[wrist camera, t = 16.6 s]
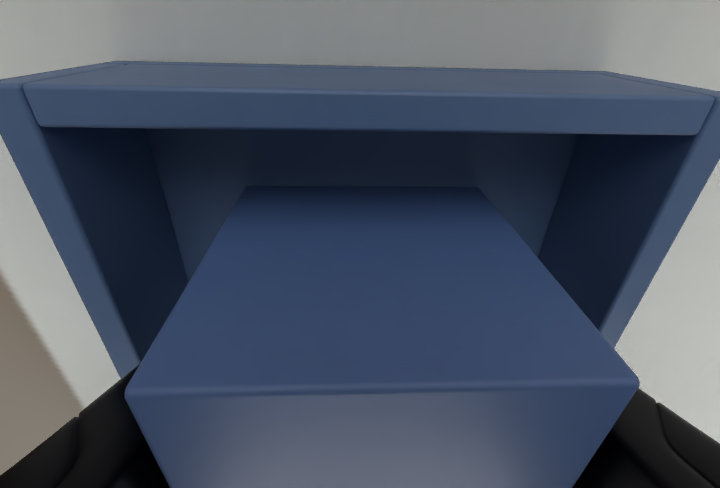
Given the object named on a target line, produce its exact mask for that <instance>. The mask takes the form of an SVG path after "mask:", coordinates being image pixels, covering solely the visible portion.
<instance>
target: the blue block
mask: <svg viewBox="0 0 720 488" xmlns="http://www.w3.org/2000/svg"><path fill="white" fill-rule="evenodd" d="M639 384H640V382H639V379H638V377H637V376H636V375H635V374H634V372H633V371H632V370H631V369H630V368H629V366H628V365H627V364H626V363H625V362H624V360H623V359H622V358H621V357H620V356H619V354H618V353H617V352H616V351H615V350H614V348H613V347H612V346H611V345H610V344H609V342H608V341H607V340H606V339H605V338H604V336H603V335H602V334H601V333H600V332H599V330H598V329H597V328H596V327H595V326H594V324H593V323H592V322H591V321H590V320H589V319H588V317H587V316H586V315H585V314H584V313H583V311H582V310H581V309H580V308H579V307H578V305H577V304H576V303H575V302H574V301H573V299H572V298H571V297H570V296H569V295H568V293H567V292H566V291H565V290H564V289H563V287H562V286H561V285H560V284H559V283H558V281H557V280H556V279H555V278H554V277H553V275H552V274H551V273H550V272H549V271H548V269H547V268H546V267H545V266H544V265H543V263H542V262H541V261H540V260H539V259H538V258H537V256H536V255H535V254H534V253H533V252H532V250H531V249H530V248H529V247H528V246H527V244H526V243H525V242H524V241H523V240H522V238H521V237H520V236H519V235H518V234H517V232H516V231H515V230H514V229H513V228H512V226H511V225H510V224H509V223H508V222H507V220H506V219H505V218H504V217H503V216H502V214H501V213H500V212H499V211H498V210H497V208H496V207H495V206H494V205H493V204H492V202H491V201H490V200H489V199H488V198H487V196H486V195H485V194H484V193H483V192H482V191H481V189H480V188H478V187H341V186H247V187H245V189H244V190H243V192H242V194H241V195H240V197H239V199H238V200H237V202H236V204H235V205H234V207H233V209H232V210H231V212H230V214H229V215H228V217H227V219H226V220H225V222H224V224H223V225H222V227H221V229H220V231H219V232H218V234H217V236H216V237H215V239H214V241H213V242H212V244H211V246H210V247H209V249H208V251H207V252H206V254H205V256H204V257H203V259H202V261H201V262H200V264H199V266H198V267H197V269H196V271H195V273H194V274H193V276H192V278H191V279H190V281H189V283H188V284H187V286H186V288H185V289H184V291H183V293H182V294H181V296H180V298H179V299H178V301H177V303H176V304H175V306H174V308H173V310H172V311H171V313H170V315H169V316H168V318H167V320H166V321H165V323H164V325H163V326H162V328H161V330H160V331H159V333H158V335H157V336H156V338H155V340H154V341H153V343H152V345H151V346H150V348H149V350H148V352H147V353H146V355H145V357H144V358H143V360H142V362H141V363H140V365H139V367H138V368H137V370H136V372H135V373H134V375H133V377H132V378H131V380H130V382H129V383H128V385H127V387H126V390H125V400H126V401H127V403H128V405H129V407H130V409H131V411H132V413H133V415H134V417H135V419H136V421H137V423H138V425H139V427H140V429H141V431H142V433H143V435H144V437H145V439H146V441H147V443H148V445H149V447H150V449H151V451H152V453H153V455H154V457H155V459H156V461H157V463H158V465H159V467H160V469H161V471H162V473H163V475H164V477H165V479H166V481H167V483H168V485H169V487H170V488H572V487H573V486H574V484H575V483H576V481H577V480H578V478H579V477H580V475H581V474H582V472H583V471H584V469H585V468H586V466H587V465H588V463H589V462H590V460H591V459H592V457H593V456H594V454H595V453H596V451H597V450H598V448H599V446H600V445H601V443H602V442H603V440H604V439H605V437H606V436H607V434H608V433H609V431H610V430H611V428H612V427H613V425H614V424H615V422H616V421H617V419H618V418H619V416H620V415H621V413H622V412H623V410H624V409H625V407H626V406H627V404H628V403H629V401H630V400H631V398H632V397H633V395H634V394H635V392H636V391H637V389H638V388H639Z"/></svg>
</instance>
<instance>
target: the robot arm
mask: <svg viewBox="0 0 720 488" xmlns="http://www.w3.org/2000/svg"><path fill="white" fill-rule="evenodd" d="M139 365H140V364H139ZM139 365H138V366H137V367H135V368H134V369H133V370H132V371H130V372H129V373H128V374H127V375H125V376H124V377H123V378H122V379H121V380H119V381H118V382H117V383H116V384H114V385H113V386H112V387H111V388H110V389H108V390H107V391H106V392H105V393H103V394H102V395H101V396H100V397H99V398H97V399H96V400H95V401H94V402H92V403H91V404H90V405H89V406H88V407H86V408H85V409H84V410H83V411H81V412H80V414H79V417H74V418H73V419H71V420H70V421H69V422H68V423H66V424H65V425H64V426H63V427H62V428H60V429H59V430H58V431H57V432H55V433H54V434H53V435H52V436H51V437H49V438H48V439H47V440H45V441H44V442H43V443H42V444H40V445H39V446H38V447H37V448H35V449H34V450H33V451H32V452H30V453H29V454H28V455H27V456H25V457H24V458H23V459H21V460H20V461H19V462H18V463H16V464H15V465H14V466H13V467H11V468H10V469H9V470H7V471H6V472H5V473H3V474H2V475H0V488H170V487H169V485H168V483H167V481H166V479H165V477H164V475H163V473H162V471H161V469H160V467H159V465H158V463H157V461H156V459H155V457H154V455H153V453H152V451H151V449H150V447H149V445H148V443H147V441H146V439H145V437H144V435H143V433H142V431H141V429H140V427H139V425H138V423H137V421H136V419H135V417H134V415H133V413H132V411H131V409H130V407H129V405H128V403H127V401H126V400H125V390H126V387H127V385H128V383H129V382H130V380H131V378H132V377H133V375H134V373H135V372H136V370H137V368H138V367H139ZM572 488H720V443H718V442H717V441H715V440H714V439H712V438H711V437H709V436H708V435H706V434H705V433H703V432H702V431H700V430H699V429H697V428H696V427H694V426H693V425H691V424H690V423H688V422H687V421H685V420H684V419H682V418H681V417H680V416H678V415H677V414H675V413H674V412H672V411H671V410H669V409H668V408H667V407H665V406H664V405H662V404H661V403H656V401H655V400H654V399H653V398H652V397H650V396H649V395H648V394H646V393H645V392H643V391H642V390H640V389H639V388H638V389H637V391H636V392H635V394H634V395H633V397H632V398H631V400H630V401H629V403H628V404H627V406H626V407H625V409H624V410H623V412H622V413H621V415H620V416H619V418H618V419H617V421H616V422H615V424H614V425H613V427H612V428H611V430H610V431H609V433H608V434H607V436H606V437H605V439H604V440H603V442H602V443H601V445H600V446H599V448H598V450H597V451H596V453H595V454H594V456H593V457H592V459H591V460H590V462H589V463H588V465H587V466H586V468H585V469H584V471H583V472H582V474H581V475H580V477H579V478H578V480H577V481H576V483H575V484H574V486H573V487H572Z"/></svg>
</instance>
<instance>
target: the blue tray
mask: <svg viewBox="0 0 720 488" xmlns="http://www.w3.org/2000/svg"><path fill="white" fill-rule="evenodd" d="M0 134H1V136H2V138H3V140H4V142H5V144H6V146H7V148H8V150H9V152H10V154H11V156H12V158H13V160H14V162H15V165H16V167H17V169H18V171H19V173H20V175H21V177H22V179H23V181H24V183H25V185H26V187H27V189H28V191H29V193H30V195H31V197H32V199H33V201H34V203H35V205H36V207H37V209H38V211H39V213H40V215H41V217H42V219H43V221H44V223H45V225H46V227H47V230H48V232H49V234H50V236H51V238H52V240H53V242H54V244H55V246H56V248H57V250H58V252H59V254H60V256H61V258H62V260H63V262H64V264H65V266H66V268H67V270H68V272H69V274H70V276H71V278H72V280H73V282H74V284H75V286H76V288H77V290H78V292H79V295H80V297H81V299H82V301H83V303H84V305H85V307H86V309H87V311H88V313H89V315H90V317H91V319H92V321H93V323H94V325H95V327H96V329H97V331H98V333H99V335H100V337H101V339H102V341H103V343H104V345H105V347H106V349H107V351H108V353H109V355H110V357H111V360H112V362H113V364H114V366H115V368H116V370H117V372H118V374H119V376H120V378H121V379H122V378H123V377H124V376H125V375H127V374H128V373H129V372H130V371H132V370H133V369H134V368H135V367H137V366H138V365H139V364H140V363H141V362H142V360H143V358H144V357H145V355H146V353H147V352H148V350H149V348H150V346H151V345H152V343H153V341H154V340H155V338H156V336H157V335H158V333H159V331H160V330H161V328H162V326H163V325H164V323H165V321H166V320H167V318H168V316H169V315H170V313H171V311H172V310H173V308H174V306H175V304H176V303H177V301H178V299H179V298H180V296H181V294H182V293H183V291H184V289H185V288H186V286H187V284H188V283H189V281H190V279H191V278H192V276H193V274H194V273H195V271H196V269H197V267H198V266H199V264H200V262H201V261H202V259H203V257H204V256H205V254H206V252H207V251H208V249H209V247H210V246H211V244H212V242H213V241H214V239H215V237H216V236H217V234H218V232H219V231H220V229H221V227H222V225H223V224H224V222H225V220H226V219H227V217H228V215H229V214H230V212H231V210H232V209H233V207H234V205H235V204H236V202H237V200H238V199H239V197H240V195H241V194H242V192H243V190H244V189H245V187H247V186H341V187H478V188H480V189H481V191H482V192H483V193H484V194H485V195H486V196H487V198H488V199H489V200H490V201H491V202H492V204H493V205H494V206H495V207H496V208H497V210H498V211H499V212H500V213H501V214H502V216H503V217H504V218H505V219H506V220H507V222H508V223H509V224H510V225H511V226H512V228H513V229H514V230H515V231H516V232H517V234H518V235H519V236H520V237H521V238H522V240H523V241H524V242H525V243H526V244H527V246H528V247H529V248H530V249H531V250H532V252H533V253H534V254H535V255H536V256H537V258H538V259H539V260H540V261H541V262H542V263H543V265H544V266H545V267H546V268H547V269H548V271H549V272H550V273H551V274H552V275H553V277H554V278H555V279H556V280H557V281H558V283H559V284H560V285H561V286H562V287H563V289H564V290H565V291H566V292H567V293H568V295H569V296H570V297H571V298H572V299H573V301H574V302H575V303H576V304H577V305H578V307H579V308H580V309H581V310H582V311H583V313H584V314H585V315H586V316H587V317H588V319H589V320H590V321H591V322H592V323H593V324H594V326H595V327H596V328H597V329H598V330H599V332H600V333H601V334H602V335H603V336H604V338H605V339H606V340H607V341H608V342H609V344H610V345H611V346H612V347H613V348H614V347H615V345H616V344H617V342H618V340H619V338H620V336H621V335H622V333H623V331H624V329H625V327H626V326H627V324H628V322H629V320H630V318H631V317H632V315H633V313H634V311H635V310H636V308H637V306H638V304H639V302H640V301H641V299H642V297H643V295H644V293H645V292H646V290H647V288H648V286H649V284H650V283H651V281H652V279H653V277H654V275H655V274H656V272H657V270H658V268H659V266H660V265H661V263H662V261H663V259H664V258H665V256H666V254H667V252H668V250H669V249H670V247H671V245H672V243H673V241H674V240H675V238H676V236H677V234H678V232H679V231H680V229H681V227H682V225H683V223H684V222H685V220H686V218H687V216H688V214H689V213H690V211H691V209H692V207H693V206H694V204H695V202H696V200H697V198H698V197H699V195H700V193H701V191H702V189H703V188H704V186H705V184H706V182H707V180H708V179H709V177H710V175H711V173H712V171H713V170H714V168H715V166H716V164H717V162H718V161H719V159H720V92H719V91H713V90H708V89H702V88H697V87H691V86H685V85H680V84H674V83H669V82H663V81H658V80H652V79H646V78H641V77H635V76H630V75H624V74H618V73H613V72H607V71H562V70H515V69H469V68H422V67H376V66H329V65H282V64H236V63H189V62H143V61H112V62H106V63H100V64H94V65H87V66H81V67H75V68H69V69H63V70H57V71H50V72H44V73H38V74H32V75H26V76H20V77H13V78H7V79H1V80H0Z"/></svg>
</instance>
